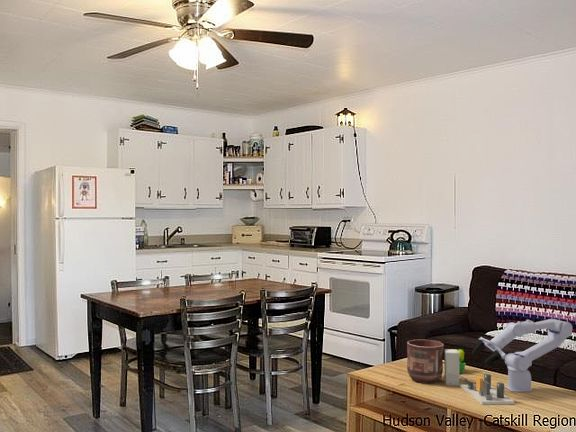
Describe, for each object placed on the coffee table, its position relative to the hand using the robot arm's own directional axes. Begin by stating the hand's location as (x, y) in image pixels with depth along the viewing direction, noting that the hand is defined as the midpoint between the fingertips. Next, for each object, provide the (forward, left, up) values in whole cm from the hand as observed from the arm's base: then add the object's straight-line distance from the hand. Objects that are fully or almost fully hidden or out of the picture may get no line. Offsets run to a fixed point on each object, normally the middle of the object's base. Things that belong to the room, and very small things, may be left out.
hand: (478, 358), depth 244 cm
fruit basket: (-3, -35, -16) cm, 39 cm away
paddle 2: (+1, +11, -13) cm, 17 cm away
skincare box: (+7, -14, -16) cm, 22 cm away
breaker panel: (-2, +4, -15) cm, 16 cm away
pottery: (+18, -20, -16) cm, 31 cm away
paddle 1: (+1, -3, -13) cm, 14 cm away
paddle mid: (+1, +4, -13) cm, 14 cm away
